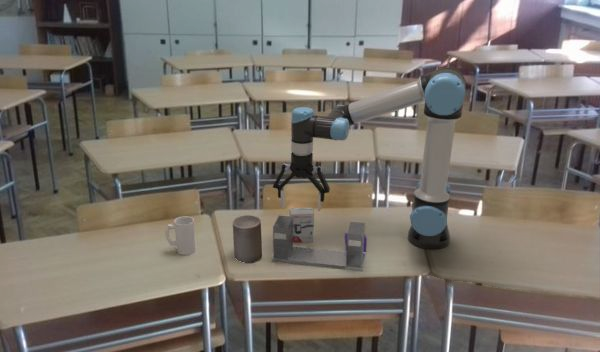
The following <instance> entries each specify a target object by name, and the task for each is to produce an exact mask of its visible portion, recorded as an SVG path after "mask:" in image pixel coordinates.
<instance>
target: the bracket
mask: <svg viewBox="0 0 600 352" xmlns="http://www.w3.org/2000/svg"><path fill="white" fill-rule="evenodd" d="M347 233H348V232H345V233H344V242H345V250H346V251H345V252H347ZM367 242H368V241H367V235H366V233H365V234H364V253H367Z"/></svg>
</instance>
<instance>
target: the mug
mask: <svg viewBox="0 0 600 352" xmlns="http://www.w3.org/2000/svg"><path fill="white" fill-rule="evenodd" d="M173 223H174V224H167V227H166V230H165V238H166V241H167V242H168V243H169V245H170V246H172V247H173V246H175V247H176V250H177V254H179V255H181V256H188V255H189V256H190V255H192V254H194V253H196V241H195V239H196V238H195V237H196V235H195V219H194V218H193V217H192V216H184V215H183V216H178V217H176V218H175V219H174V221H173ZM173 229H174V232H175V233H174V235H175V240H172V239H171V238H170V236H169V233H170V231H171V230H173Z"/></svg>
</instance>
